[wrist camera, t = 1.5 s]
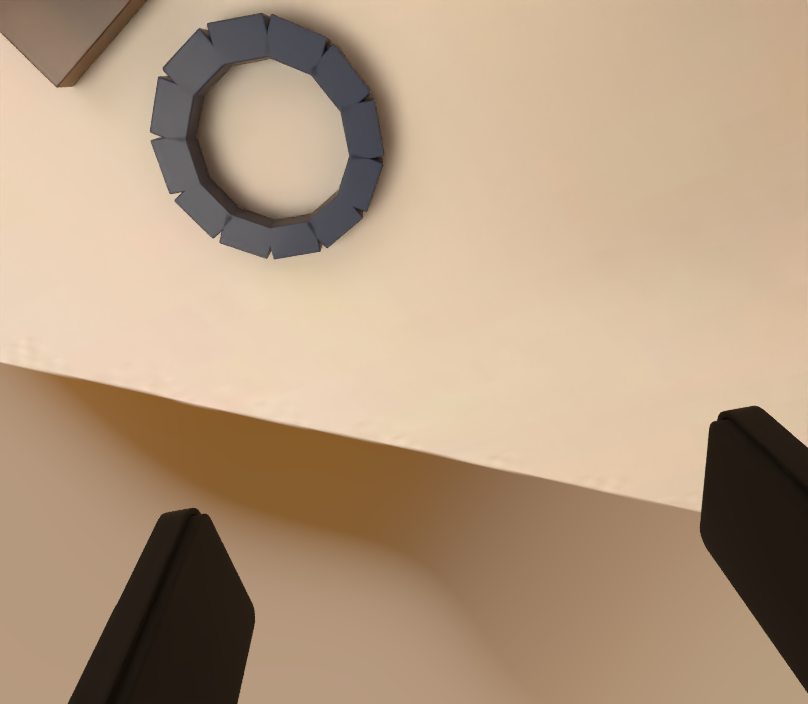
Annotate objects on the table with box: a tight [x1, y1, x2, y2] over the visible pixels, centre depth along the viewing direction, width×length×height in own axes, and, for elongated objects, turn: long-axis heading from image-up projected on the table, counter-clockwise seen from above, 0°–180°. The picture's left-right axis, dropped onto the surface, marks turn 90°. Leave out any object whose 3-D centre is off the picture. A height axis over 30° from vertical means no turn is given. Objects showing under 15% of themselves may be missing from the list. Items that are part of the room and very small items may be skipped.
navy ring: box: [150, 13, 384, 259], centre depth 28 cm, size 12×12×2 cm
